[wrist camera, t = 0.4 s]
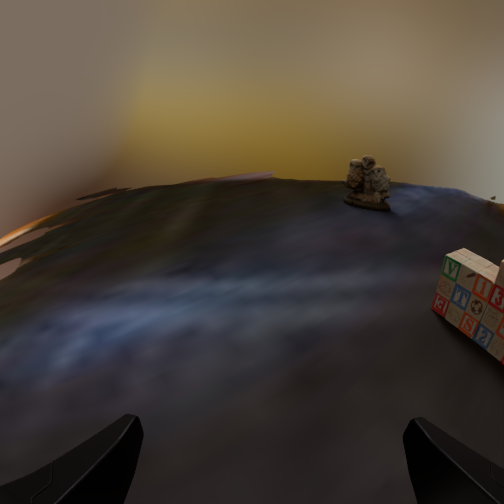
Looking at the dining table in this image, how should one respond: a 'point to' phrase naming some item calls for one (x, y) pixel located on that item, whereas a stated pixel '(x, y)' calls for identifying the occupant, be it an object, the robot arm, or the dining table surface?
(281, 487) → the dining table surface
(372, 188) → the owl figurine
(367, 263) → the dining table surface
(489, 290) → the stack of blocks
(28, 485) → the robot arm
